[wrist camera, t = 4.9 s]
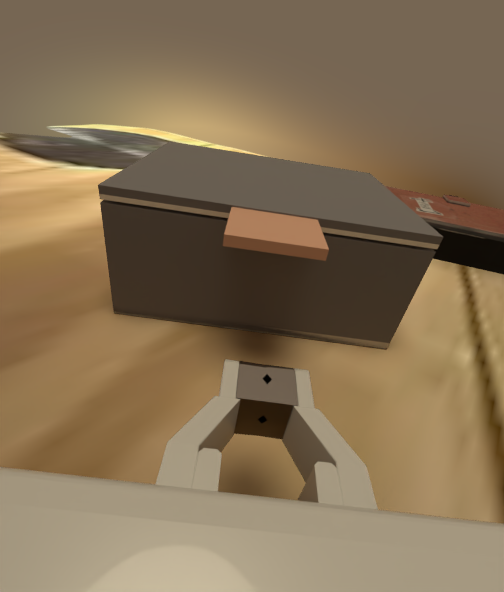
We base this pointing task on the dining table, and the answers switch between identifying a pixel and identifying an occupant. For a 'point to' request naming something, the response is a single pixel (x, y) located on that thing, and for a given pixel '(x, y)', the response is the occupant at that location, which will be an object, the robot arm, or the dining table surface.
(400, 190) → the book
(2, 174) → the dining table surface
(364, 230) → the lid
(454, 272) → the dining table surface
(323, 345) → the dining table surface
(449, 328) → the dining table surface
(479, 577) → the robot arm
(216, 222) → the box
